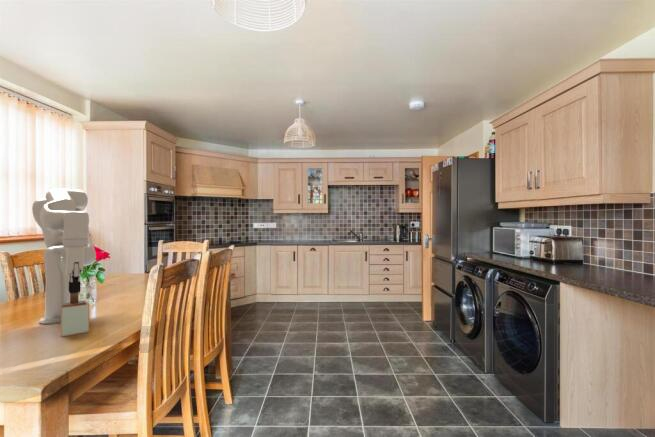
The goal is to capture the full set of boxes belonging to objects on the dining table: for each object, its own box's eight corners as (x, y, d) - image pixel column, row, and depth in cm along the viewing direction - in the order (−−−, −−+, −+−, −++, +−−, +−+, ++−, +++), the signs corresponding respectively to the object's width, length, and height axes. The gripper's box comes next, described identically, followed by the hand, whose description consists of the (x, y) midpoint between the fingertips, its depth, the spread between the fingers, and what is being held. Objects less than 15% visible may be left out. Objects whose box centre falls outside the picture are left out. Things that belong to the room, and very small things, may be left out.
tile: (60, 336, 111) (61, 307, 112) (88, 331, 116) (88, 304, 118) (60, 336, 110) (61, 307, 111) (89, 331, 115) (89, 303, 117)
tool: (61, 308, 118) (62, 271, 118) (85, 305, 123) (85, 269, 123) (62, 310, 115) (63, 272, 115) (86, 307, 120) (87, 270, 120)
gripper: (61, 242, 123) (60, 290, 122) (64, 244, 111) (62, 297, 110) (85, 242, 128) (84, 287, 127) (90, 244, 116) (89, 294, 116)
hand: (74, 291), depth 119 cm, fingers closed on tool, 2 cm apart
